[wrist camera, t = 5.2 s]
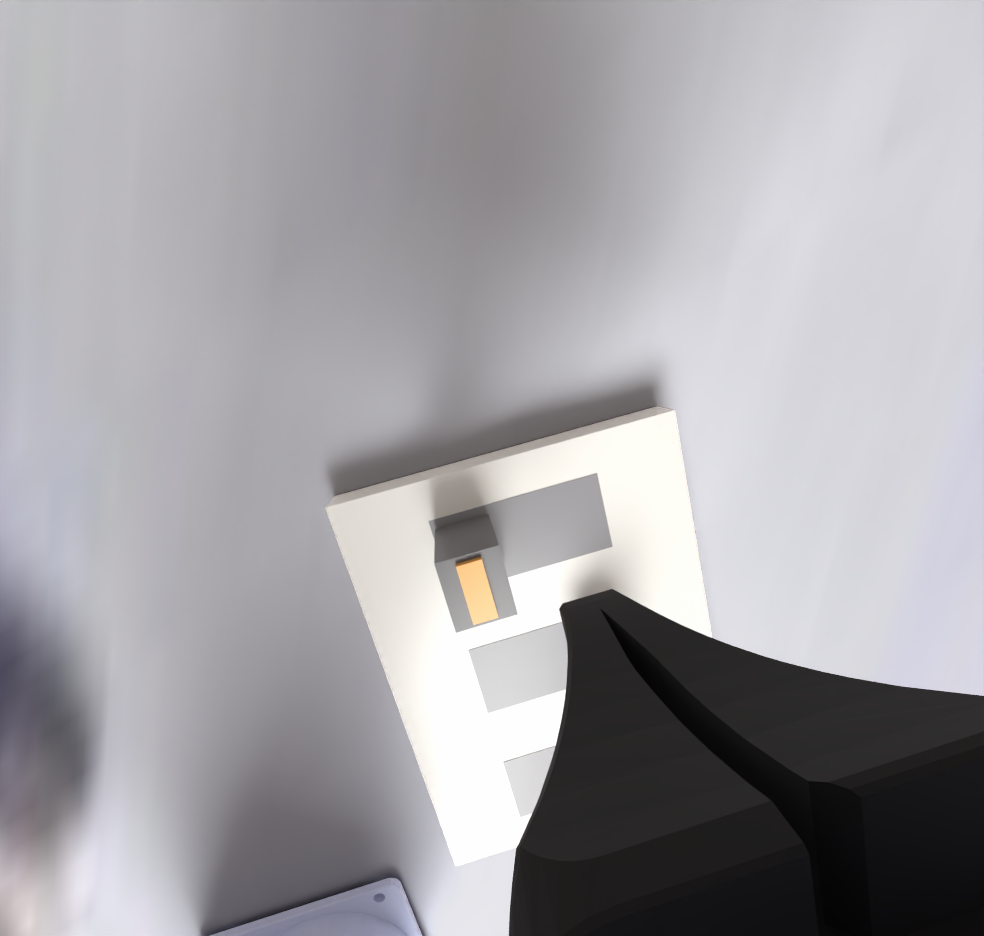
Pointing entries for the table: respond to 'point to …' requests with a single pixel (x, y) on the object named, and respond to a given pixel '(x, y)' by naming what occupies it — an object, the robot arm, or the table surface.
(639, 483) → the breaker panel
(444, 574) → the breaker
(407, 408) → the table surface
